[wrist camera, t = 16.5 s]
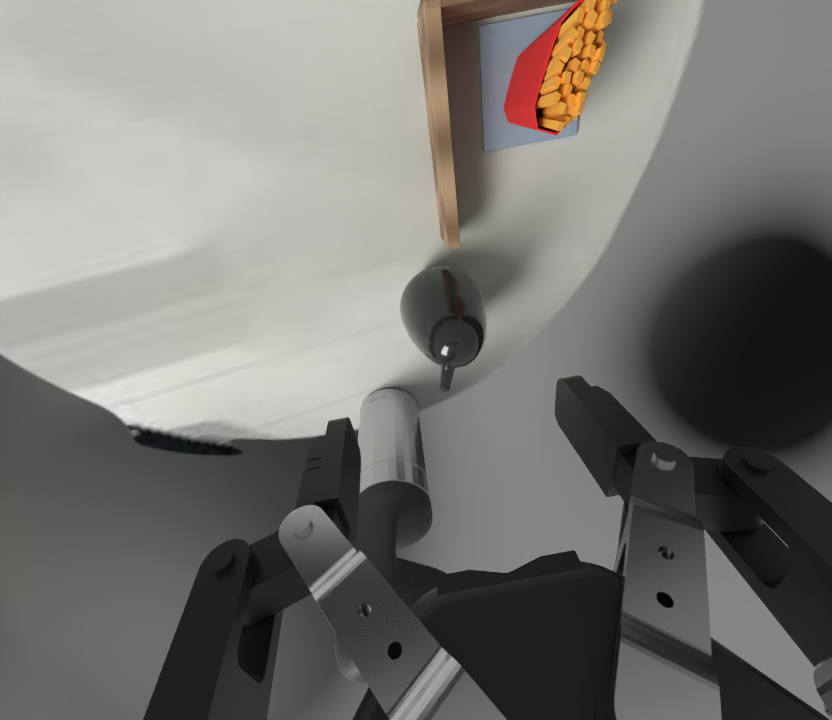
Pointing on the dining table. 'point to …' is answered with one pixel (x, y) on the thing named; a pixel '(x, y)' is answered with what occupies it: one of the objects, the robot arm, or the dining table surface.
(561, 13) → the mat
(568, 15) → the french fries
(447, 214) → the wooden corner bracket
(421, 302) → the pump dispenser
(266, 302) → the dining table surface
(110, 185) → the dining table surface
